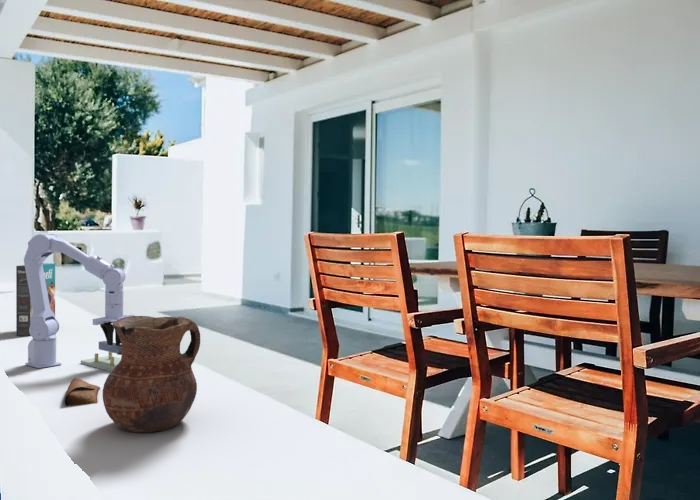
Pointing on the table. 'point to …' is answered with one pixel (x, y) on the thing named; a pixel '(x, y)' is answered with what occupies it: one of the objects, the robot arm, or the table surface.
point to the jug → (152, 373)
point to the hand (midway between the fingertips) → (114, 344)
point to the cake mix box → (24, 299)
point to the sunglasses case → (81, 393)
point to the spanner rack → (103, 362)
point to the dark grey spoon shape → (111, 347)
